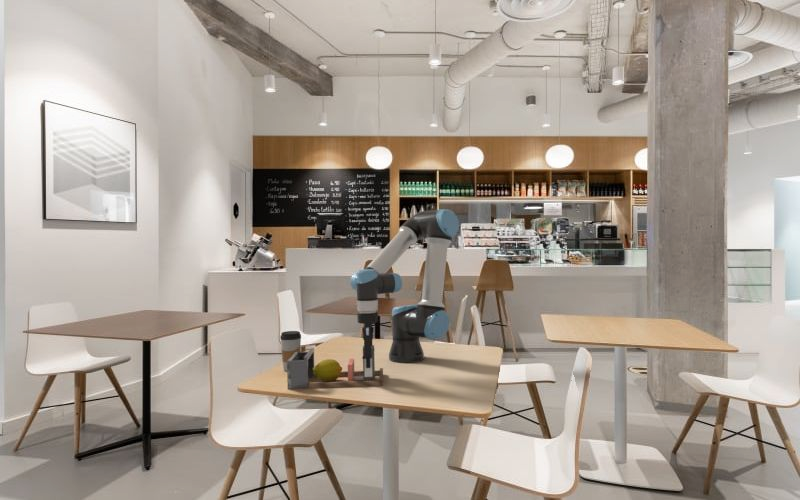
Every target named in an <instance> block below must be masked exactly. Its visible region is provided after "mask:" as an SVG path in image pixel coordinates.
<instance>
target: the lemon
mask: <svg viewBox="0 0 800 500" xmlns="http://www.w3.org/2000/svg"><path fill="white" fill-rule="evenodd" d="M341 372H343V367H342V366H341V365H340V363H339V361H337V360H336V359H330V358H329V359H324V360H321V361H319V362H318V363H317V364H316V365H314V368H313V374H314V375H315V376H317V377H316V378H317V379H318V380H320V381H322V382H335V380H337V379H338V378H339V376H340V373H341ZM340 377H341V376H340Z"/></svg>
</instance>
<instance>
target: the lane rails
mask: <svg viewBox="0 0 800 500" xmlns="http://www.w3.org/2000/svg"><path fill="white" fill-rule="evenodd" d="M354 376H363V370H354ZM375 376H379V377H378V379H379V380H376V379H375V381H364V380H354V381H348V380H347V381H345V380H344V381H331V382H325V381H322V382H321V381H318V382H317V381H315V382H308V388H307V389H315V388H316V389H319V388H323V389H324V388H347V387H348V388H350V387H351V388H352V387H355V388H357V387H381V386H384V368H383V367H380V368H379V369H378V370H375ZM339 377H340V378H341V377H348V370H347V371H343V370H342V371H341V373H340V376H339ZM339 377H338V378H339ZM313 378H317V376H315V375H314V377H313Z"/></svg>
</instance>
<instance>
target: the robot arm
mask: <svg viewBox="0 0 800 500" xmlns="http://www.w3.org/2000/svg"><path fill="white" fill-rule="evenodd" d="M459 229H460V223H459V218H458V217H457V215H456V214H455V212H454V211H453V210H451V209H447V208H446V209H445V208H444V209H443V208H439V209H436V210H435V209H433V210H422V211H418V212H417V213H416V214H413V215H412V216H411V217H410V218H408V219H407V220H406V221H405V222H404V223H403V224H402V225H401V226H400V227H399V228H398V232H397V234H396V235H395V236H394V237H393V238H392V239H391V240H390V241H389V243H387V244H386V246H384V247H383V249H382V250H380V251H379V253H377V255H376V256H375V257H374V258H373V259H372V261H371V262H370V263H369V264H368V265H367V266H366V267H365V268H364V269H359V270H357V271H356V272H355V273H353V274H352V276H351V277H350V281H349V282H350V286H351V288H352V290H354V291H356V303H355V306H356V308H357V309H356V310H357V319H356V320H357V322H358V324H364V326H363V327H362V339H363V346H364V356H363V355H362V358H361V359H362V360H363V359H364V368H365V377H372V355H371V345H373V340H374V339H373V338H374V332H375V331H374V329H375V328H374V326H373V324H376V323H378V322H379V312H378V311H379V298H378V297H379V295H382V294H383V295H385V294H394V293H398V292H400V290H401V289H402V288H403V279H402V277H401V276H400V274H398V273H396V272H389V273H388V271H389V270H390V269H391V268H392V267H393V265H394V264H395V263H396V262H397V261H398V260H399V259H400V258H401V257H402V256H403V255H404V253H405V252H406V251H407V250H408V249H409V247H411V245H415V244H417V242H418V241H419V240H421V239H423V240H424V241H425V242H426V244H427V245H426V257H425V262H424V263H425V266H424V273H423V274H424V275H423V283H422V293H421V300H420V301H419V302H418V303H416V304H409V305H400V306H395V307H393V308H392V310H391V330H392V332H391V333H392V342H391V346H390V350H389V354H388V359H389V361H392V362H394V363H395V362H396V363H415V362H419V361H422V360H424V359H425V352H424V349H423V348H422V344H421V341H420V338H426V339H429V340H433V339H435V340H438V339H439V340H440V339H441V338H443V337H444V336H445V335H446V334H447V333H448V331H449V328H450V324H451V323H450V321H451V320H450V316H449V314H448V312H447V311H446V306H445V305H444V303H443V296H444V287H445V285H444V284H445V277H446V276H445V275H446V266H447V258H448V257H447V256H448V248H449V246H450V244H452V241H453V237H455V236H457V234H458V233H459Z"/></svg>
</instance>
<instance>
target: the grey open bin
mask: <svg viewBox="0 0 800 500" xmlns="http://www.w3.org/2000/svg"><path fill="white" fill-rule="evenodd" d="M314 367H315V348H313V347H311V348H310V349H309V350H308V351H300V352H295V353H294V354H293V355H292V357H291V358H290V359H289V360H288V361H287V371H286V373H287V376H286V377H287V380H286V381H287V389H288V388H301V389H309V388H308V383H309V378H315V377H314V374H313V368H314Z"/></svg>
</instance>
